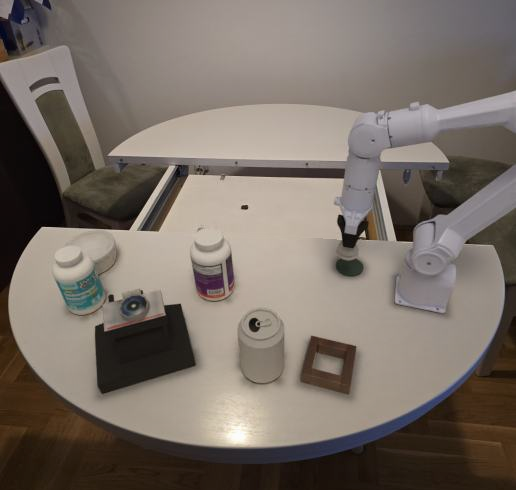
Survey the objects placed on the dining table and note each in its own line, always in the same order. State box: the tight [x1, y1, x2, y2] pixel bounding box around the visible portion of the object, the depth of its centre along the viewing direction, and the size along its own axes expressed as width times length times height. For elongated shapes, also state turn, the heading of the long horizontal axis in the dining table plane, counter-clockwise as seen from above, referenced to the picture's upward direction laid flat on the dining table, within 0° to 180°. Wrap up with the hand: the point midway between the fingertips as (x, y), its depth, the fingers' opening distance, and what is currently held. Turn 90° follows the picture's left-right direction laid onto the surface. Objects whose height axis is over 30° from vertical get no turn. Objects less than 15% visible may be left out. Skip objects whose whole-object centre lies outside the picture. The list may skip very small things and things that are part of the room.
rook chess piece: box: [335, 240, 359, 261], centre depth 80 cm, size 4×4×8 cm
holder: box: [300, 335, 357, 395], centre depth 69 cm, size 8×8×2 cm
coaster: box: [335, 257, 364, 277], centre depth 89 cm, size 6×6×1 cm
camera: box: [94, 288, 197, 395], centre depth 70 cm, size 16×14×15 cm
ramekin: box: [64, 229, 117, 275], centre depth 91 cm, size 11×11×5 cm
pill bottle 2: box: [189, 226, 236, 302], centre depth 81 cm, size 8×8×14 cm
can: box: [237, 307, 285, 384], centre depth 66 cm, size 8×8×12 cm
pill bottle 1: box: [51, 246, 106, 316], centre depth 79 cm, size 8×7×14 cm
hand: (349, 240), depth 80 cm, fingers closed on rook chess piece, 3 cm apart
